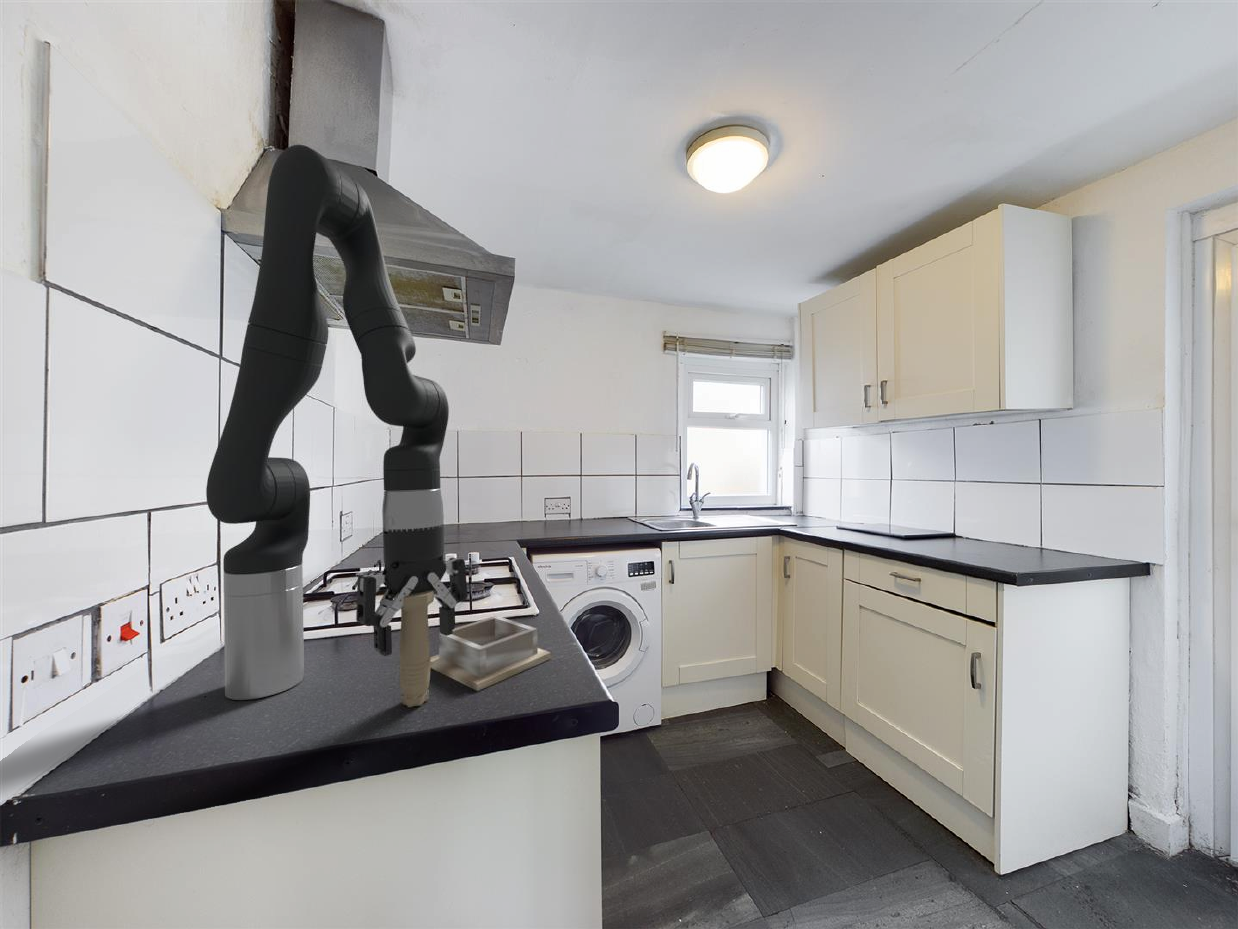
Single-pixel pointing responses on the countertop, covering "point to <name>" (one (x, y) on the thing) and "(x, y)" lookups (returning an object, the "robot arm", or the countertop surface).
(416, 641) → the handle
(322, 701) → the countertop surface
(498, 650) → the small square bin
